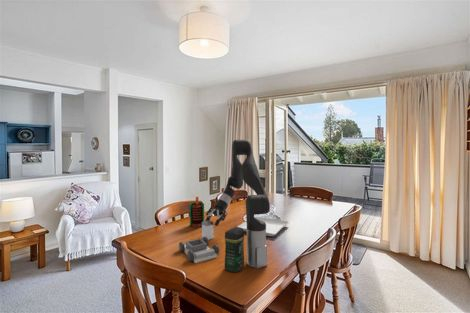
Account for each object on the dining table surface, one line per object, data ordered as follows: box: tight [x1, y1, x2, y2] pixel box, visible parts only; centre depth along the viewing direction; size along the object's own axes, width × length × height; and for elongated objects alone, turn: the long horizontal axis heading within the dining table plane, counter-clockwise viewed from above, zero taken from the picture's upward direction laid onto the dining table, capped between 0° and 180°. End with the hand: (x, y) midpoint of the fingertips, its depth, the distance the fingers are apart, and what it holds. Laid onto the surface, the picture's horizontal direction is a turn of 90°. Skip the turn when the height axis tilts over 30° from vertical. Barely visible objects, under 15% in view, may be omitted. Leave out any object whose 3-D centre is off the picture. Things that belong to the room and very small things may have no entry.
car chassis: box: [178, 237, 220, 264], centre depth 134 cm, size 20×15×5 cm
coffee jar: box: [224, 226, 245, 273], centre depth 117 cm, size 10×8×19 cm
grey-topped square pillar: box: [201, 220, 215, 241], centre depth 154 cm, size 5×5×10 cm
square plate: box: [237, 216, 290, 237], centre depth 171 cm, size 27×27×4 cm
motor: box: [189, 196, 206, 228], centre depth 178 cm, size 10×9×20 cm
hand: (210, 224), depth 156 cm, fingers open, 8 cm apart
